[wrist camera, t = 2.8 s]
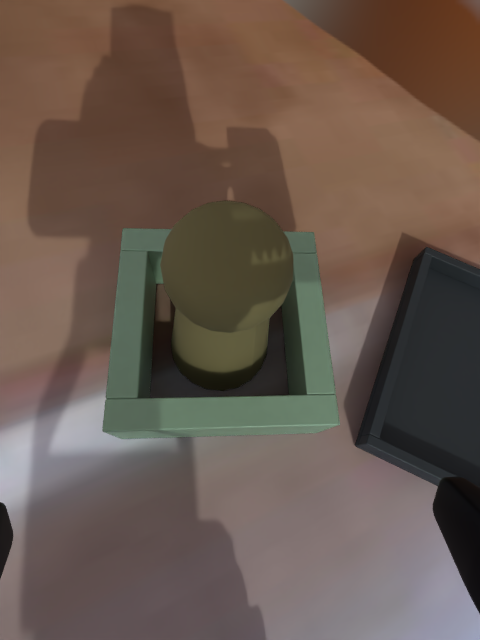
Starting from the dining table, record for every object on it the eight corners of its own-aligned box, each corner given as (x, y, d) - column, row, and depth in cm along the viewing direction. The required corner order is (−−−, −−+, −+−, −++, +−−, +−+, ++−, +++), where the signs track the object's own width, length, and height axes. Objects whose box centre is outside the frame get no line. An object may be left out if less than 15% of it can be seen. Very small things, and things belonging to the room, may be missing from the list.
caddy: (317, 433, 22) (340, 425, 18) (120, 439, 21) (101, 431, 17) (298, 265, 26) (314, 231, 22) (134, 263, 25) (122, 227, 21)
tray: (542, 536, 20) (570, 542, 19) (354, 445, 21) (365, 443, 20) (565, 324, 26) (588, 314, 24) (413, 259, 27) (426, 246, 25)
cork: (158, 316, 23) (121, 197, 13) (245, 287, 25) (272, 159, 15) (190, 406, 22) (176, 346, 11) (283, 369, 23) (344, 287, 13)
